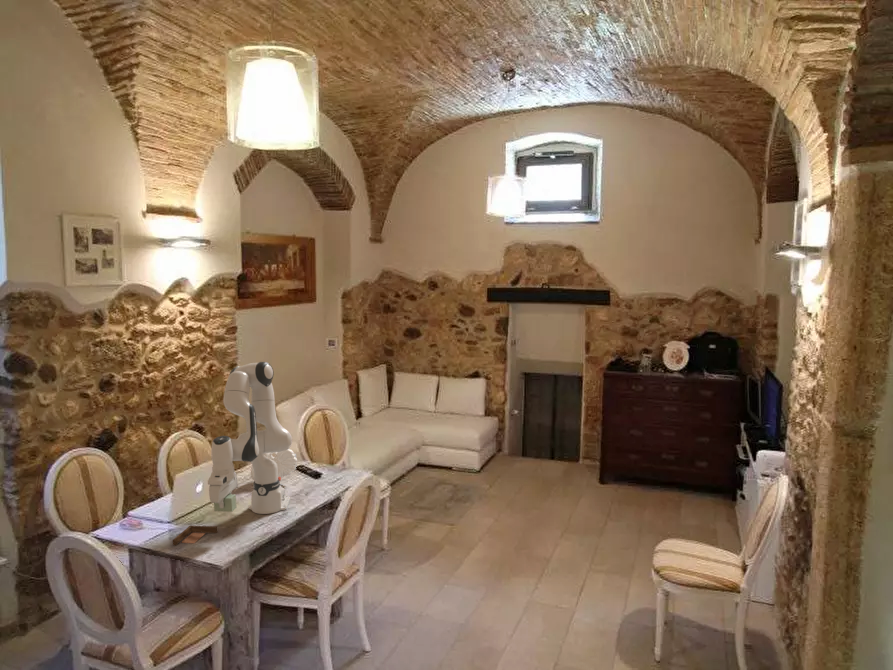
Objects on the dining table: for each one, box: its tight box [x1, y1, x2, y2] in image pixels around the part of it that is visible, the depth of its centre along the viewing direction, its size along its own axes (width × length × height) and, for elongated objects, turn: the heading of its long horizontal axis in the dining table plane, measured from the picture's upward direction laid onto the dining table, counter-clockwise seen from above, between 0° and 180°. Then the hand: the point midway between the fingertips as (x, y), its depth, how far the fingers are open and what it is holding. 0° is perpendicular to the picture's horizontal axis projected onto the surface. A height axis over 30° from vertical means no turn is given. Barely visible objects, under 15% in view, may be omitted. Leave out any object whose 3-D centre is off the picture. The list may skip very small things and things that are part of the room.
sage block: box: [213, 493, 237, 513], centre depth 281 cm, size 4×8×6 cm, turn 85°
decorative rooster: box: [250, 448, 298, 481], centre depth 349 cm, size 25×16×25 cm, turn 73°
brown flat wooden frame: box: [172, 524, 219, 546], centre depth 282 cm, size 15×13×2 cm
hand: (225, 504), depth 281 cm, fingers closed on sage block, 4 cm apart
